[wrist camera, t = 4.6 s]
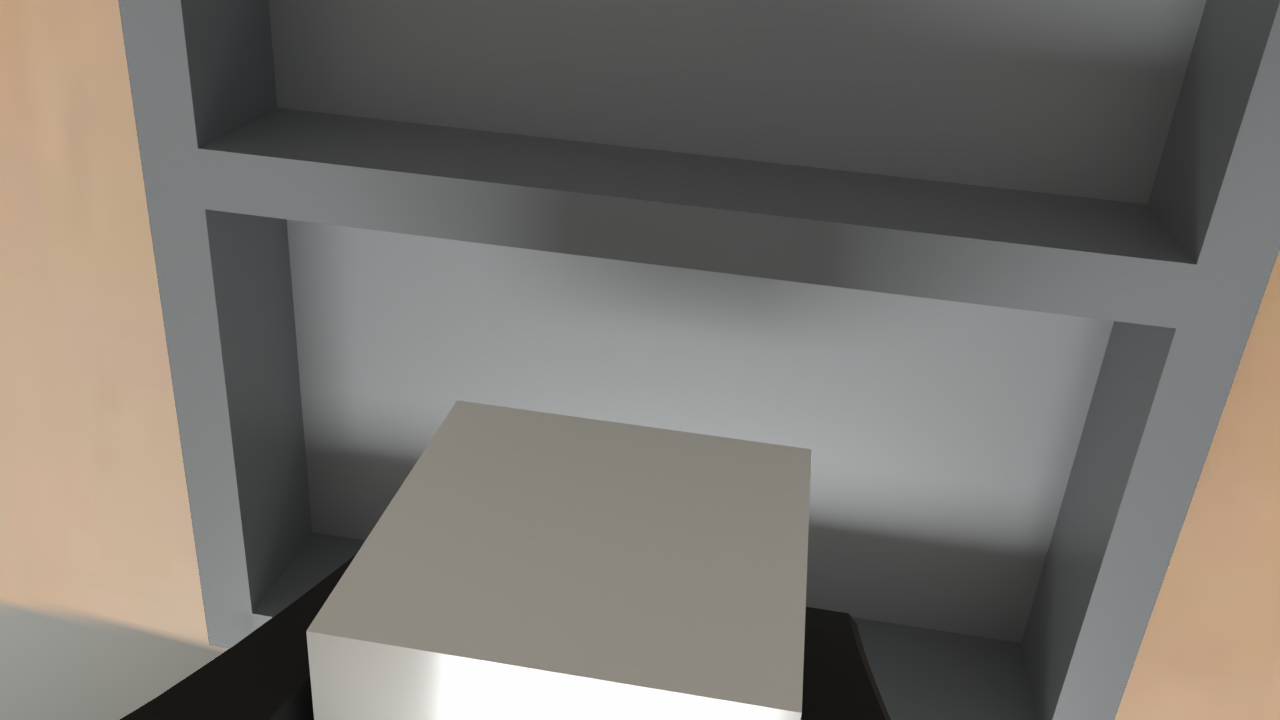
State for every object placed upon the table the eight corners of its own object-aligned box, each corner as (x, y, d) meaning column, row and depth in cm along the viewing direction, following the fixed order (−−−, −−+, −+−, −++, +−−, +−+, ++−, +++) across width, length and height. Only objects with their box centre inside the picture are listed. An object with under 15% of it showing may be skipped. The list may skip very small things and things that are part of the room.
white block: (811, 448, 12) (802, 714, 8) (767, 721, 14) (745, 1034, 10) (457, 400, 12) (306, 632, 9) (459, 670, 14) (335, 952, 11)
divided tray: (1398, -477, 12) (1566, -567, 9) (1052, 656, 19) (1087, 794, 16) (194, -528, 13) (31, -616, 11) (291, 536, 20) (209, 645, 18)
